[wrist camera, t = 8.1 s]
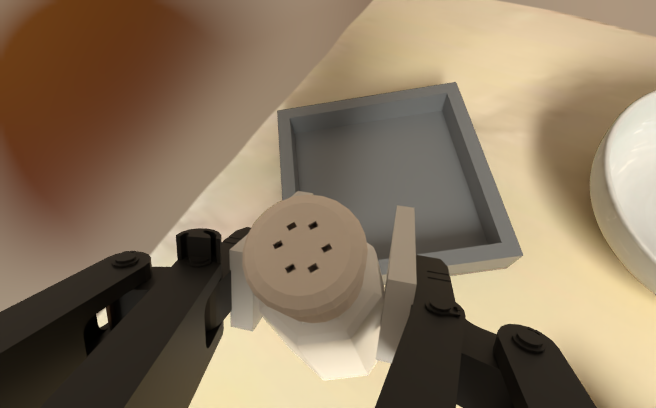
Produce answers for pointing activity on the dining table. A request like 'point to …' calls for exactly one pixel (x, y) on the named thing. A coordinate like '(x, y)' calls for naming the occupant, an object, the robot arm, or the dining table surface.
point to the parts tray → (402, 173)
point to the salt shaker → (317, 284)
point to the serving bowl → (629, 188)
